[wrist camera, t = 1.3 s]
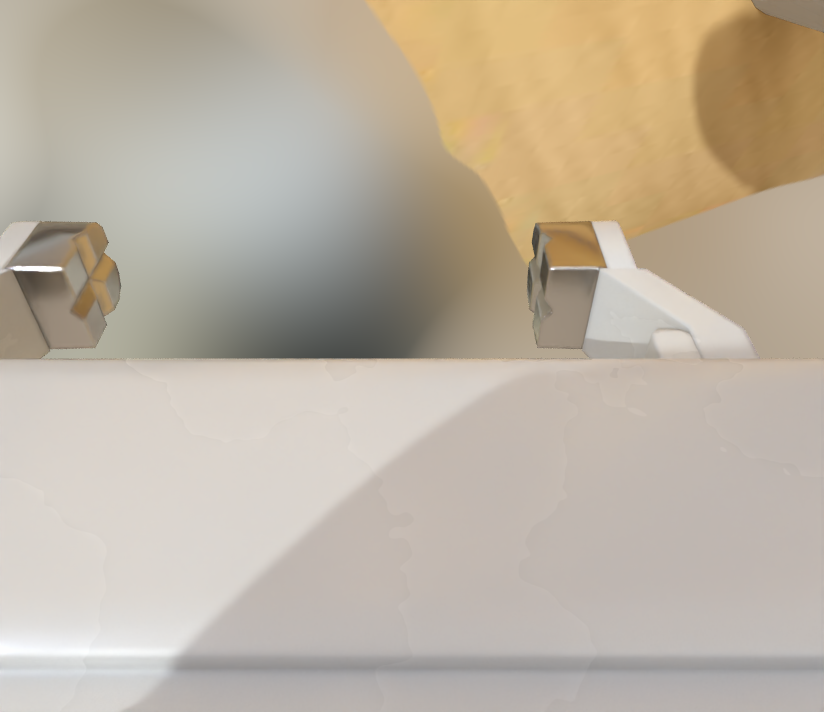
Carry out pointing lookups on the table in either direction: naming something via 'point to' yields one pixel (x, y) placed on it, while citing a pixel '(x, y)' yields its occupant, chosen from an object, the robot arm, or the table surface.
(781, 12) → the lava lamp
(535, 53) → the table surface
